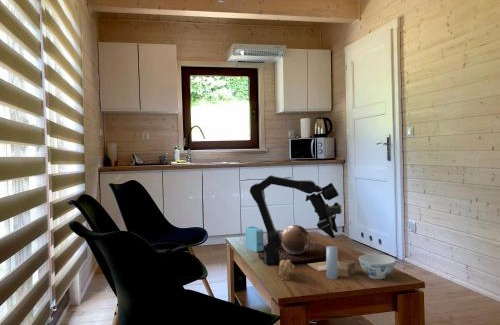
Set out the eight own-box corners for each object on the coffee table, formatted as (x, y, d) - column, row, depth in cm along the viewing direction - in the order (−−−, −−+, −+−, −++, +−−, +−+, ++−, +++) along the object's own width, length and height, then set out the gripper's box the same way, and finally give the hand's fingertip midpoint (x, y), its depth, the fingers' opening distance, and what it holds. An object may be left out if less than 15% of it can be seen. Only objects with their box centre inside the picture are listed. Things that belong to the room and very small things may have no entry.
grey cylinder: (330, 279, 176) (329, 249, 176) (324, 276, 181) (324, 246, 180) (340, 278, 178) (339, 248, 177) (334, 275, 182) (333, 245, 182)
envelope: (319, 271, 188) (319, 270, 188) (307, 264, 199) (307, 263, 199) (349, 267, 193) (349, 266, 193) (336, 260, 204) (336, 259, 204)
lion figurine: (295, 281, 175) (295, 260, 174) (283, 283, 173) (283, 261, 173) (284, 271, 189) (284, 251, 189) (273, 272, 188) (273, 252, 187)
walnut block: (347, 275, 181) (347, 264, 181) (339, 273, 185) (338, 261, 185) (355, 273, 184) (355, 262, 184) (347, 271, 188) (346, 260, 188)
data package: (263, 251, 225) (263, 229, 224) (256, 252, 222) (256, 230, 222) (252, 247, 235) (251, 225, 234) (245, 248, 233) (244, 226, 232)
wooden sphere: (275, 252, 222) (275, 224, 221) (299, 249, 228) (299, 221, 228) (291, 259, 208) (290, 229, 207) (315, 255, 215) (315, 226, 214)
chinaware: (352, 273, 184) (351, 256, 183) (380, 269, 189) (380, 252, 188) (373, 284, 169) (373, 265, 169) (403, 279, 175) (403, 261, 174)
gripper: (331, 202, 185) (348, 234, 184) (337, 193, 202) (353, 222, 201) (309, 212, 189) (326, 243, 188) (317, 203, 206) (332, 231, 205)
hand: (335, 234), depth 196 cm, fingers open, 9 cm apart
